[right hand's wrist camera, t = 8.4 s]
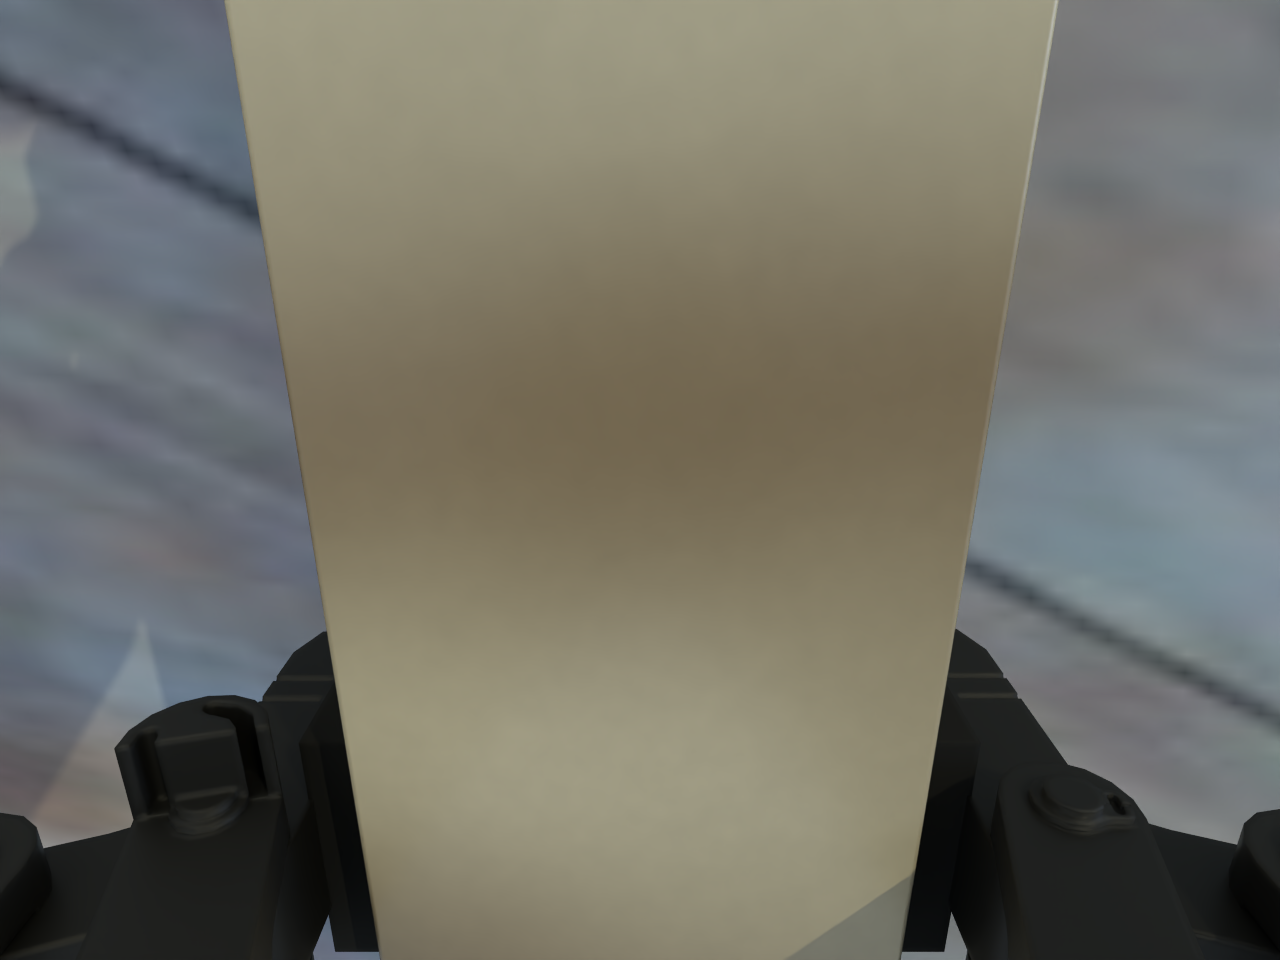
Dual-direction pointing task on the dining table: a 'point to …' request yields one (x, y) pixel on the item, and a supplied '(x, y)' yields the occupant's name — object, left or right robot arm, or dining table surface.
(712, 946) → the plank
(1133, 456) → the dining table surface
